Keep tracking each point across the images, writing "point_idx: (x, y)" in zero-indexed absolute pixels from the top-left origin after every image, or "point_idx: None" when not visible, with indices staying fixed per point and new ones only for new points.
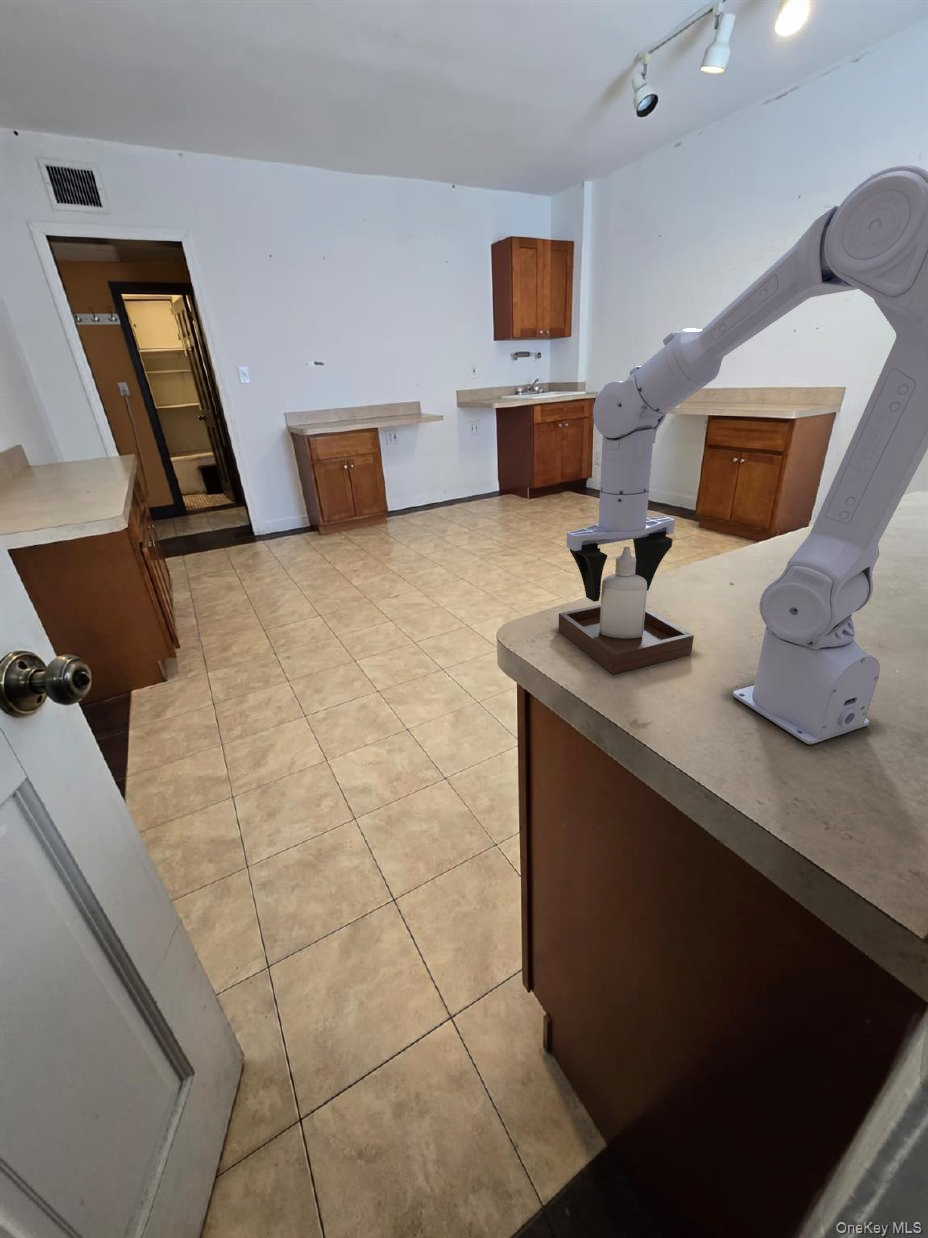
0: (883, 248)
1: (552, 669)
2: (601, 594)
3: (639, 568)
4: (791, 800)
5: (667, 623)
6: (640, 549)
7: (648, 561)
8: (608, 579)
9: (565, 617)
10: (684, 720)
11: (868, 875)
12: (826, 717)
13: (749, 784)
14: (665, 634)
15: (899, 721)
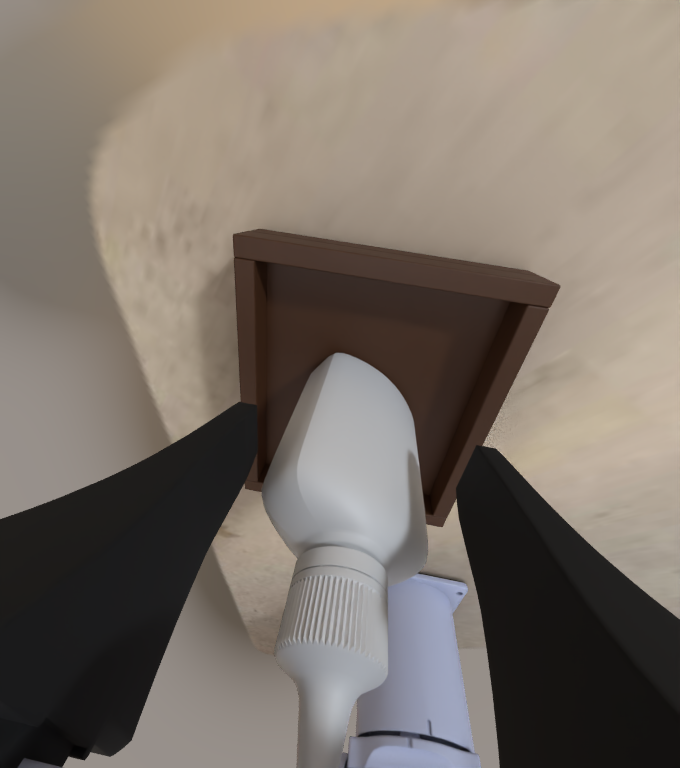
0: None
1: (164, 386)
2: (277, 450)
3: (505, 531)
4: (279, 619)
5: (455, 474)
6: (563, 666)
7: (499, 632)
8: (273, 521)
9: (239, 281)
10: (278, 552)
11: (267, 645)
12: None
13: (263, 603)
14: (445, 453)
15: (466, 641)
